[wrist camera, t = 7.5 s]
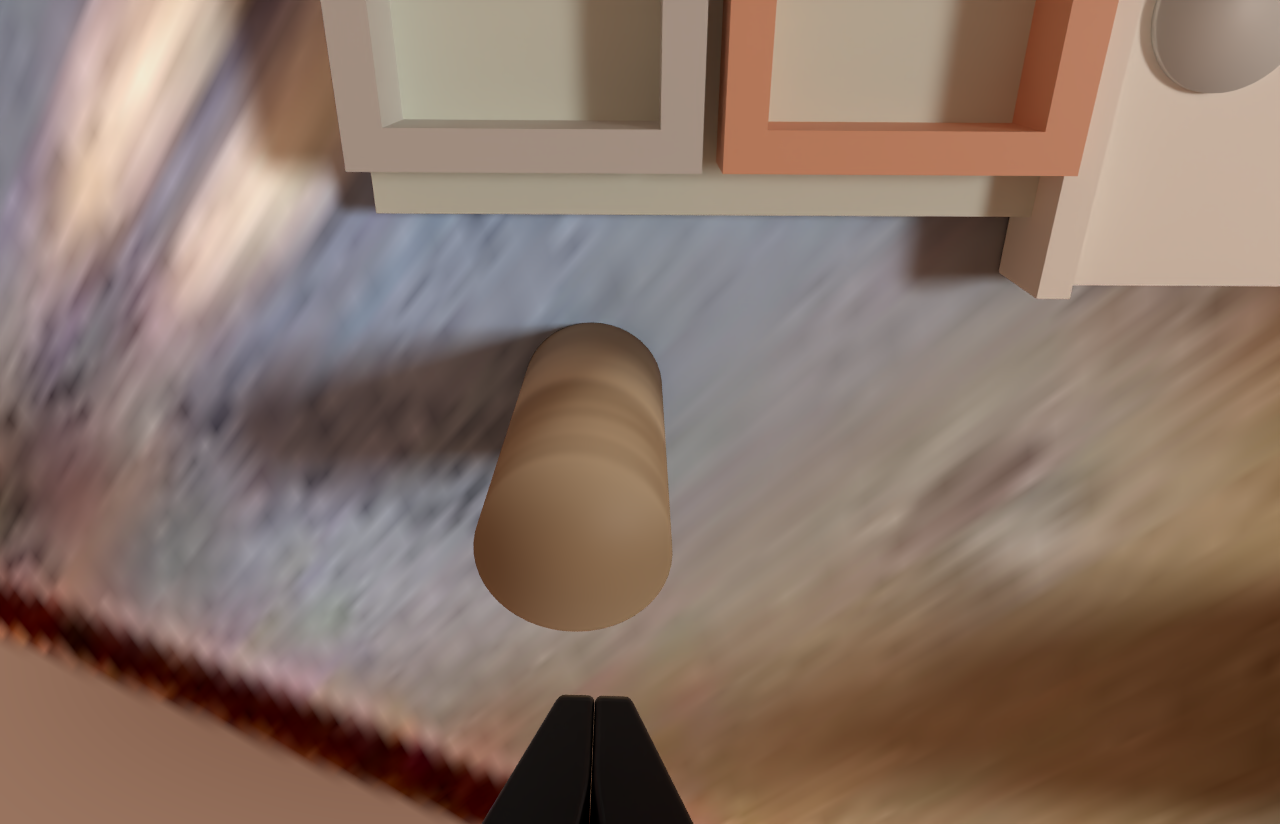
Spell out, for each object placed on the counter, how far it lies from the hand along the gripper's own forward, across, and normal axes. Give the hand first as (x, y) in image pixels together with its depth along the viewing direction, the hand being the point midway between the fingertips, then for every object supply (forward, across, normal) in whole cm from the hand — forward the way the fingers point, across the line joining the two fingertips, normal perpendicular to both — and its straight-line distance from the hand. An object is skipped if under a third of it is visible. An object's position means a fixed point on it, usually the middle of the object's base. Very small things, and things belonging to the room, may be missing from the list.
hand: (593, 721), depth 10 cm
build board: (+11, -2, -8) cm, 14 cm away
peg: (+11, 0, +1) cm, 11 cm away
